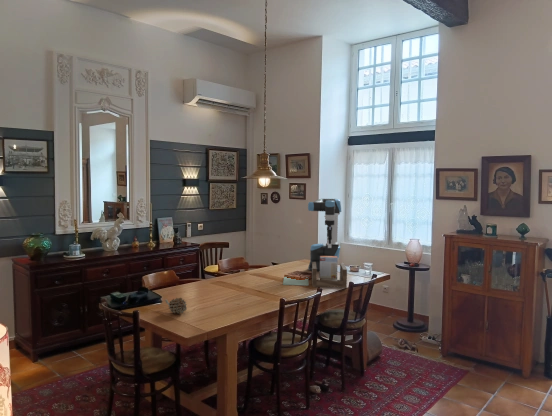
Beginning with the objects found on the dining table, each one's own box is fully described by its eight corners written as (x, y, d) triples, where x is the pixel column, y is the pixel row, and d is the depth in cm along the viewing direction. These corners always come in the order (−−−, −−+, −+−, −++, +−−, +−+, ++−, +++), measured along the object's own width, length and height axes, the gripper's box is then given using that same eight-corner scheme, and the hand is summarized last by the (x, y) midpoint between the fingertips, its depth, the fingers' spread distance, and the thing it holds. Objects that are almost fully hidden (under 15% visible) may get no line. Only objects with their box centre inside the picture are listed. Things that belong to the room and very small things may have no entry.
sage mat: (284, 277, 359) (284, 276, 359) (308, 278, 358) (308, 277, 358) (282, 284, 336) (282, 284, 335) (308, 285, 334) (308, 284, 334)
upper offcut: (320, 280, 342) (320, 277, 342) (335, 280, 342) (335, 277, 342) (321, 282, 336) (321, 279, 336) (336, 282, 336) (336, 279, 336)
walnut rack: (311, 278, 357) (312, 261, 356) (343, 279, 355) (343, 262, 354) (312, 286, 331) (312, 268, 330) (346, 287, 330) (347, 269, 328)
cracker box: (336, 281, 349) (337, 255, 347) (337, 283, 343) (337, 257, 341) (319, 280, 350) (320, 255, 348) (319, 282, 344) (320, 256, 342)
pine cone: (191, 314, 263) (191, 298, 262) (178, 317, 256) (178, 301, 255) (170, 306, 278) (169, 291, 277) (157, 310, 270) (157, 294, 269)
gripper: (324, 218, 355) (323, 243, 357) (325, 221, 330) (325, 248, 332) (333, 218, 355) (332, 244, 356) (335, 221, 330) (335, 249, 332)
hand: (329, 246), depth 344 cm, fingers open, 13 cm apart
